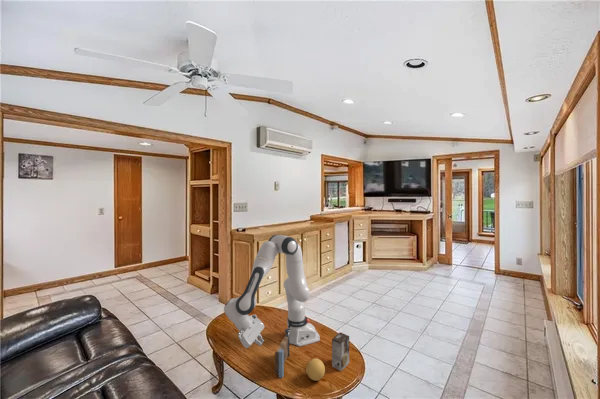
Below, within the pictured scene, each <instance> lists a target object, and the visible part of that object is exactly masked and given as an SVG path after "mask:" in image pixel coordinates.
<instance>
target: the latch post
mask: <svg viewBox="0 0 600 399" xmlns="http://www.w3.org/2000/svg"><path fill="white" fill-rule="evenodd" d="M284 374H285V362H284V350H282V349H280V350H279V375H278V378H280V379H283V378H284Z"/></svg>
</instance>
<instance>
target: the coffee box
mask: <svg viewBox="0 0 600 399" xmlns="http://www.w3.org/2000/svg"><path fill="white" fill-rule="evenodd" d="M348 364H350V335H347V334H345V333H343V332H339V333H337V334H336V335H335V336H333V337H332V339H331V367H332V368H334V369H336V370H338V371H340V372H342V371H343V370H344V369H345V368H346V367H347V366H349V365H348Z"/></svg>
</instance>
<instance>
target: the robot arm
mask: <svg viewBox="0 0 600 399" xmlns="http://www.w3.org/2000/svg"><path fill="white" fill-rule="evenodd" d="M279 253H280V254H285V266H286V274H287V278H286V279H285V280H284V282H283V287H284V290H285V291H284V292H285V297H286V301H287V320H286V322H287V323H286V325H287V326H286V327H287V328H288V329H290V332H289V344H291V345H295V346H296V347H302V346H307V345H311V344H314V343H317V342H320V339H321V337H320V334H319V333H318V331H317V330H316V327H315V326H314V324H312V323H311V322H310V321H311V320H310V319H309V318H308V317H307V316H306V314H305V313H306V312H305V311H306V309H305V308H306V306H305V302H307V301H308V300H309V299H310V297H311V290H310V288H309V285H308V282H307V279H306V274H305V271H304V270H305V268H304V259H303V250H302V247H301V245H300V244H299V243H298V242H297V240H296V239H295V238H294V237H291V236H287V235H284V234H282V235H281V234H273V235H272V236H270V238H269V240H266V241H264V242H263V243H262V244H261V246H260V247H259V250H258V251H257V253H256V256H255V258H254V261H253V266H252V270H251V273H250V274H251V275H250V277H249V279H248V283H247V285H246V287H245V289H244V291H243V293H242V294H241V295H240V296H239V297H234V298H230V299H229V300H228V301H227V303H226V304H225V305H224V306H223V312H224V314H225V315H226V317H227V318H228V319H229V321H230V322H232V323H233V324H234V326H235V327H236V329H237V330H238V331H239V332H238V333H237V336H238V339H239V341H240V343H241V344H242V345H243V347H244V349H249V348H250V347H251V346H252V345H253V343H254V344H256V345H258V346H259V347H261V346H262V345H263V343H264V342H265V340H264V339H263V336H262V334H261V333H262V332H263V330H264V329H265V327H266V326H265V325H264V322H262V320H261V319H259V318H258V316H257V315H256V314H252V315H249V314H251V313H252V312H253V311H254V309H255V308H256V305H257V297H256V294H257V291H258V289H259V287H260V285H261V282H262V281H263V279H264V278H265V277H266V276H267V275H268V273H269V272H270V271H271V269H272V267H273V265H274V262H275V259H276V256H277V255H278V254H279Z"/></svg>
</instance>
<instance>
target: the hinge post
mask: <svg viewBox="0 0 600 399" xmlns="http://www.w3.org/2000/svg"><path fill="white" fill-rule="evenodd" d="M284 332H285V336H284V337H288V357H287V358H289V357H290V343H289V332H290V329H288V327H287V328H285V329H284Z"/></svg>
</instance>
